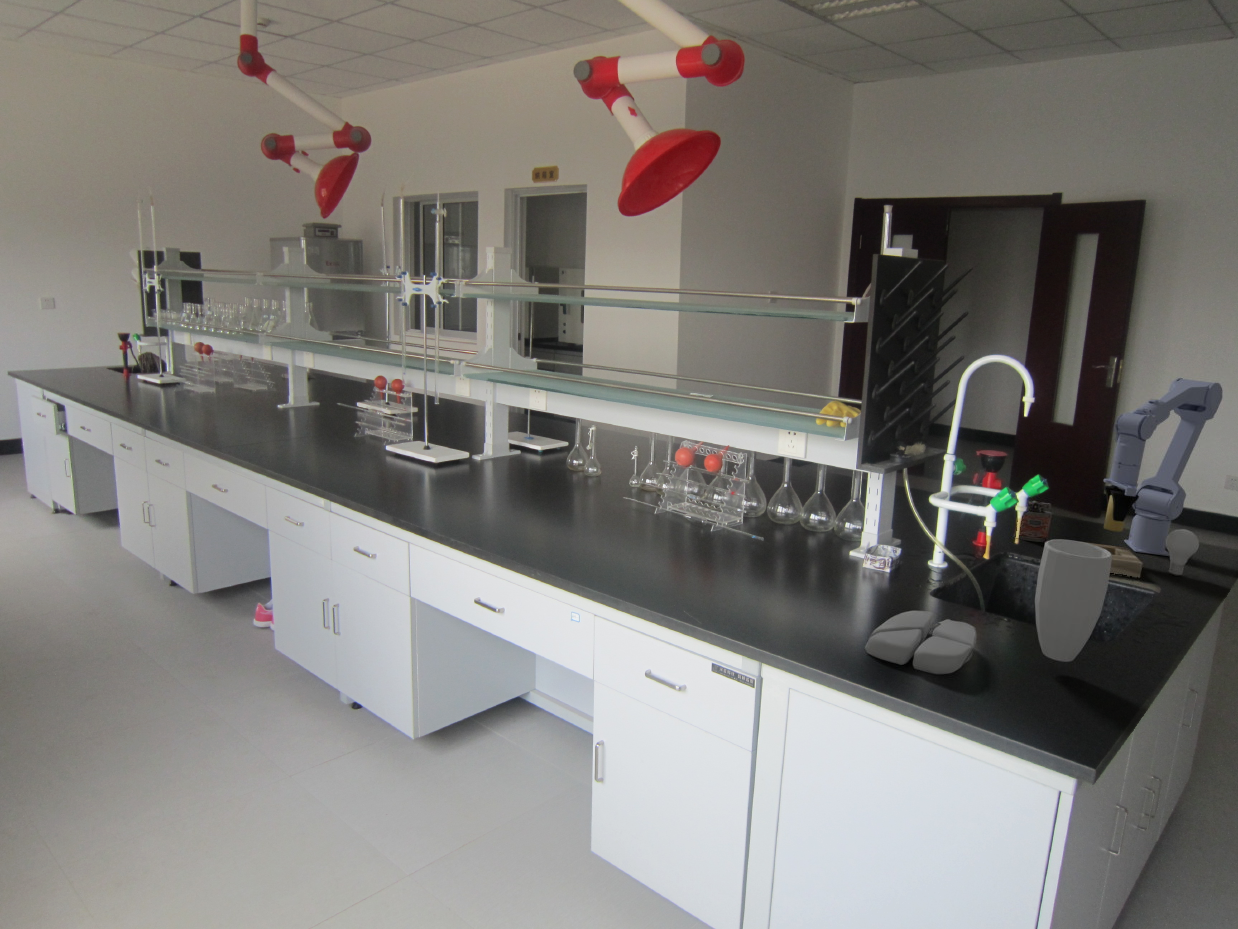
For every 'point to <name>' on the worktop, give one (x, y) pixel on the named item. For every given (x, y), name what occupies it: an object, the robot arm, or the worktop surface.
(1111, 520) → the dowel
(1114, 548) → the socket block
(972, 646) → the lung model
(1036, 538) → the lighter
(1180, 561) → the lightbulb
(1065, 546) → the cup
